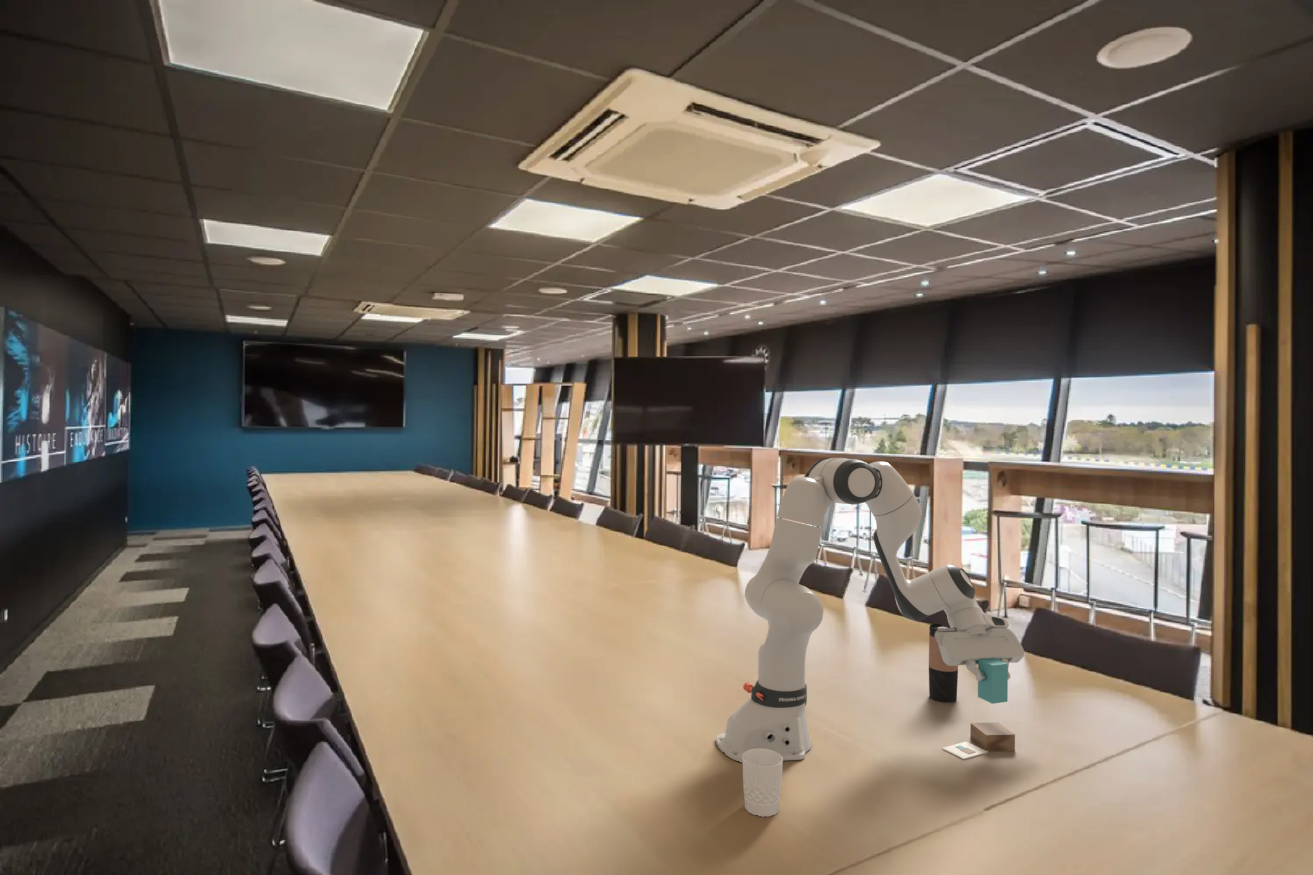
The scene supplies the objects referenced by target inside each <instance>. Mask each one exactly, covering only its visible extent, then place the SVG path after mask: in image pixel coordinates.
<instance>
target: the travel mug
mask: <svg viewBox="0 0 1313 875" xmlns="http://www.w3.org/2000/svg"><path fill="white" fill-rule="evenodd" d="M928 628H929V630H928V631H929V632H928V634H929V636H928V640H929V641H928V690H929V692H928V693H929V698H930V699H931V700H934V701H936V702H941V703H945V704H946V703H954V702H956V701H957V699H958V698H957V697H958V696H957V695H958V681H959V665H955V666H948V665H947V664H946V663H944V661H943V659H942V656H941V653H940V649H939V643H938V642H937V640H936V638H935V632H936V631H937V630H938V629H939V628H944V629H945V628H951V627H950V625H943V624H941V623H938V622H937V623H931V624H929V627H928Z"/></svg>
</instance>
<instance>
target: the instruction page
mask: <svg viewBox="0 0 1313 875" xmlns="http://www.w3.org/2000/svg"><path fill="white" fill-rule="evenodd" d="M942 750H944V751H946V752H947V753H950V754H952V755H953V756H955V757H958V758H960V759H962V761H964V760H968V759H971V758H975V757H979V756H982V755H985V754H988V753H989V751H985V750H984V749H983V748H981V747H980V746H976V745H974V744H972V743H970V742H969V741H963V742H960V743H959V742H958V743H956V744H952V745H949V746H944V747H942Z"/></svg>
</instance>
